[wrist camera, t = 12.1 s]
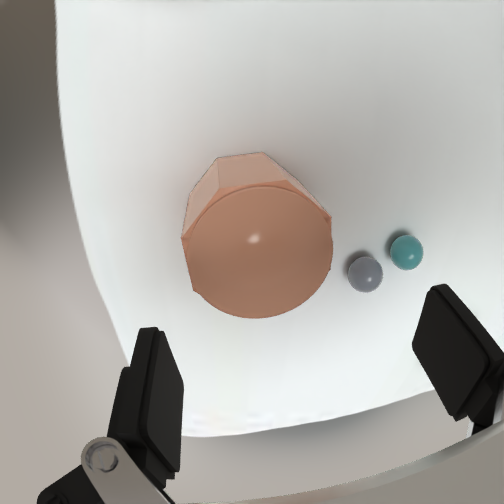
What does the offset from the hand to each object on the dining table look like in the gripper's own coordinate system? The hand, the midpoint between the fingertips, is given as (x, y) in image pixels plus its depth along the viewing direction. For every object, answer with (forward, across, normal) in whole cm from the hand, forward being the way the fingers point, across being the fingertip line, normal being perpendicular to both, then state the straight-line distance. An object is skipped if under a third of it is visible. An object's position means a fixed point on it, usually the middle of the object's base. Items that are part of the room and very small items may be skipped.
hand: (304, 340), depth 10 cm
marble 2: (+12, -12, +6) cm, 18 cm away
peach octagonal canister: (+14, +1, 0) cm, 14 cm away
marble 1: (+11, -8, +8) cm, 16 cm away
